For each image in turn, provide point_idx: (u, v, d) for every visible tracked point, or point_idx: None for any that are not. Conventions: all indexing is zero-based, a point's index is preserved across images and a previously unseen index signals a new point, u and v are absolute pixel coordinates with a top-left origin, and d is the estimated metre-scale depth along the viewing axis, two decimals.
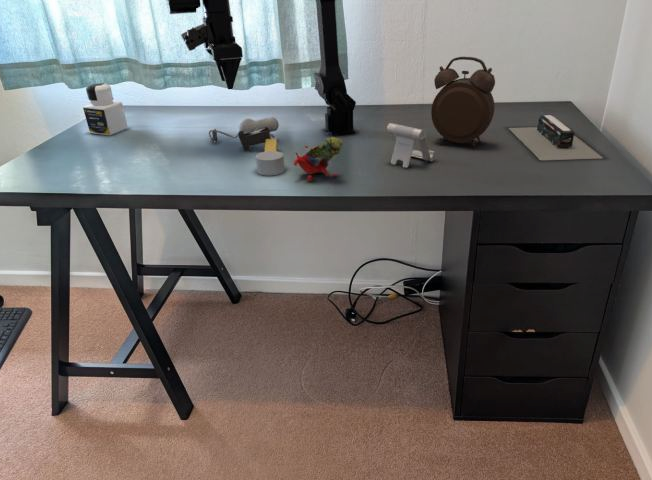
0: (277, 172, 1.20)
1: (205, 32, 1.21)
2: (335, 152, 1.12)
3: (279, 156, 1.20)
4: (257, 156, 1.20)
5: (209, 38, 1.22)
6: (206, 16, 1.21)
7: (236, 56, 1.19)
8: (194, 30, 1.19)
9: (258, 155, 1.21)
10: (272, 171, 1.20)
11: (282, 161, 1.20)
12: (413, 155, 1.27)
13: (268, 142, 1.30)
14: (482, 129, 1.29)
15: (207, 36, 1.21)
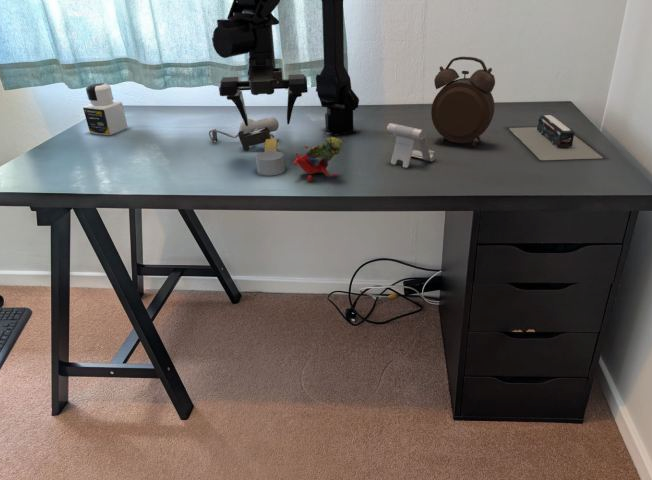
0: (277, 172, 1.20)
1: None
2: (335, 152, 1.12)
3: (279, 156, 1.20)
4: (257, 156, 1.20)
5: None
6: (265, 56, 1.14)
7: None
8: (281, 70, 1.13)
9: (258, 155, 1.21)
10: (272, 171, 1.20)
11: (282, 161, 1.20)
12: (413, 155, 1.27)
13: (268, 142, 1.30)
14: (482, 129, 1.29)
15: None
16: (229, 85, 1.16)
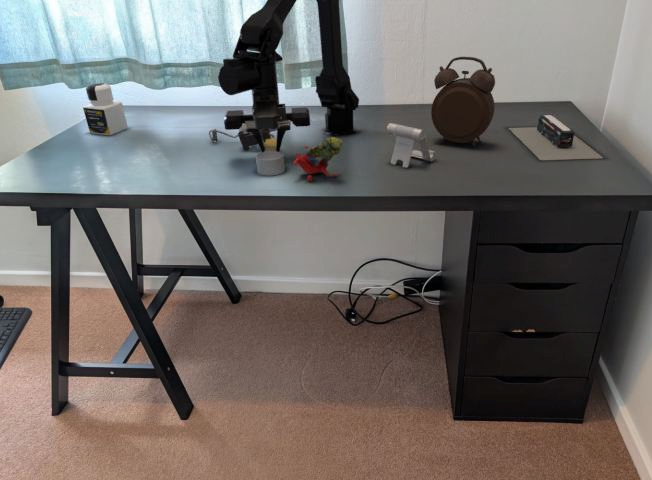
0: (277, 172, 1.20)
1: None
2: (335, 152, 1.12)
3: (279, 156, 1.20)
4: (257, 156, 1.20)
5: None
6: (269, 91, 1.18)
7: None
8: None
9: (258, 155, 1.21)
10: (272, 171, 1.20)
11: (282, 161, 1.20)
12: (413, 155, 1.27)
13: (268, 142, 1.30)
14: (482, 129, 1.29)
15: None
16: (234, 119, 1.20)
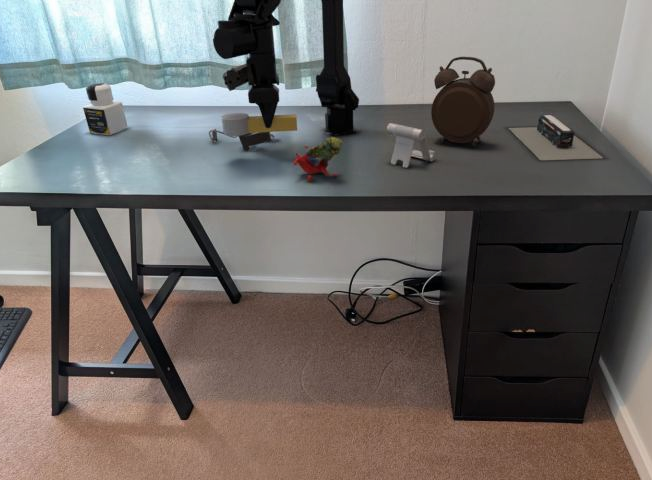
0: (224, 132, 1.22)
1: (246, 73, 1.15)
2: (335, 152, 1.12)
3: (229, 119, 1.20)
4: (234, 113, 1.24)
5: (249, 79, 1.16)
6: (248, 56, 1.15)
7: (272, 101, 1.12)
8: (233, 71, 1.13)
9: (237, 113, 1.24)
10: None
11: (229, 125, 1.20)
12: (413, 155, 1.27)
13: (283, 115, 1.24)
14: (482, 129, 1.29)
15: (247, 77, 1.16)
16: None
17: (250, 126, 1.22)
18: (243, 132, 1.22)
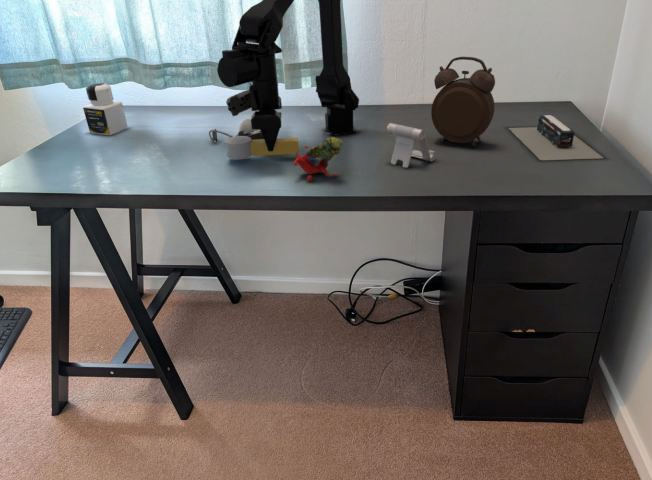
0: (228, 156, 1.25)
1: (249, 99, 1.18)
2: (335, 152, 1.12)
3: (232, 143, 1.23)
4: (237, 136, 1.27)
5: (252, 105, 1.19)
6: (251, 83, 1.18)
7: (274, 127, 1.15)
8: (236, 98, 1.16)
9: (240, 136, 1.27)
10: (226, 151, 1.26)
11: (232, 148, 1.23)
12: (413, 155, 1.27)
13: (285, 139, 1.27)
14: (482, 129, 1.29)
15: (250, 103, 1.18)
16: None
17: (253, 150, 1.25)
18: (246, 155, 1.25)
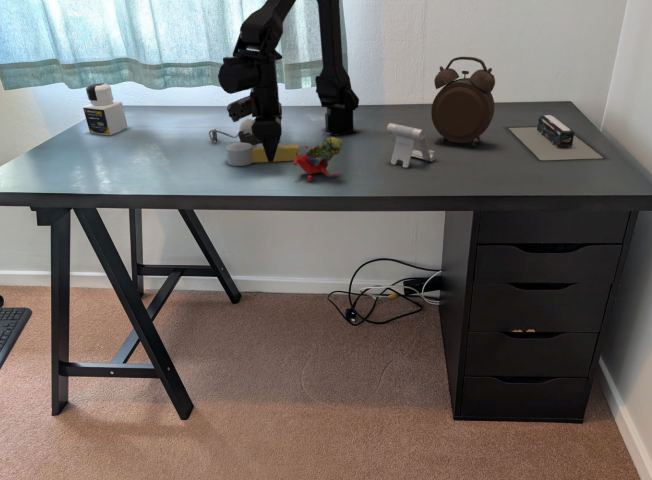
0: (228, 162, 1.26)
1: (249, 105, 1.19)
2: (335, 152, 1.12)
3: (233, 150, 1.24)
4: (238, 143, 1.28)
5: (253, 111, 1.19)
6: (252, 89, 1.19)
7: (274, 133, 1.16)
8: (237, 104, 1.17)
9: (241, 143, 1.28)
10: (227, 158, 1.27)
11: (233, 155, 1.24)
12: (413, 155, 1.27)
13: (285, 145, 1.27)
14: (482, 129, 1.29)
15: (251, 109, 1.19)
16: None
17: (253, 156, 1.26)
18: (247, 162, 1.26)
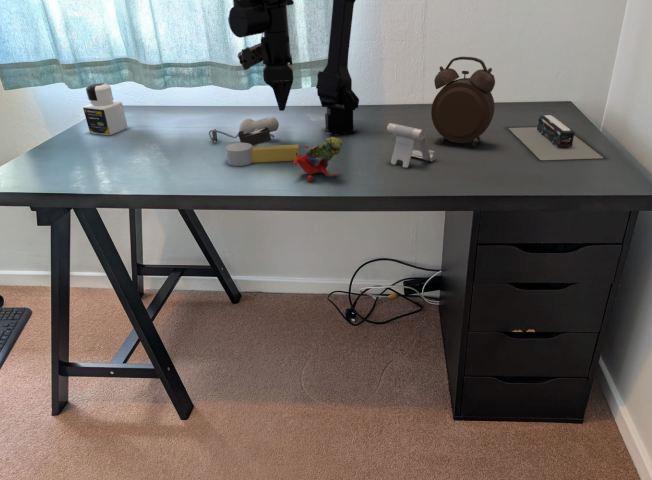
0: (228, 162, 1.26)
1: (260, 52, 1.18)
2: (335, 152, 1.12)
3: (233, 150, 1.24)
4: (238, 143, 1.28)
5: (264, 58, 1.18)
6: (263, 35, 1.17)
7: (286, 79, 1.15)
8: (248, 50, 1.16)
9: (241, 143, 1.28)
10: (227, 158, 1.27)
11: (233, 155, 1.24)
12: (413, 155, 1.27)
13: (285, 145, 1.27)
14: (482, 129, 1.29)
15: (262, 56, 1.18)
16: None
17: (253, 156, 1.26)
18: (247, 162, 1.26)
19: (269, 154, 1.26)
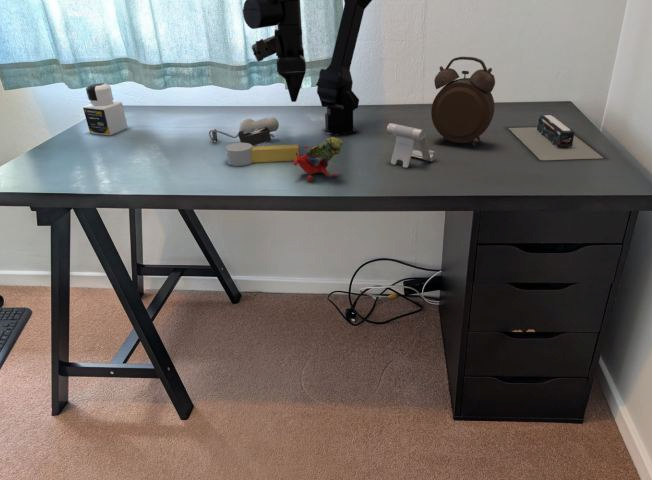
0: (228, 162, 1.26)
1: (273, 44, 1.21)
2: (335, 152, 1.12)
3: (233, 150, 1.24)
4: (238, 143, 1.28)
5: (277, 50, 1.21)
6: (276, 28, 1.21)
7: (299, 70, 1.18)
8: (262, 42, 1.19)
9: (241, 143, 1.28)
10: (227, 158, 1.27)
11: (233, 155, 1.24)
12: (413, 155, 1.27)
13: (285, 145, 1.27)
14: (482, 129, 1.29)
15: (275, 48, 1.21)
16: None
17: (253, 156, 1.26)
18: (247, 162, 1.26)
19: (269, 154, 1.26)
